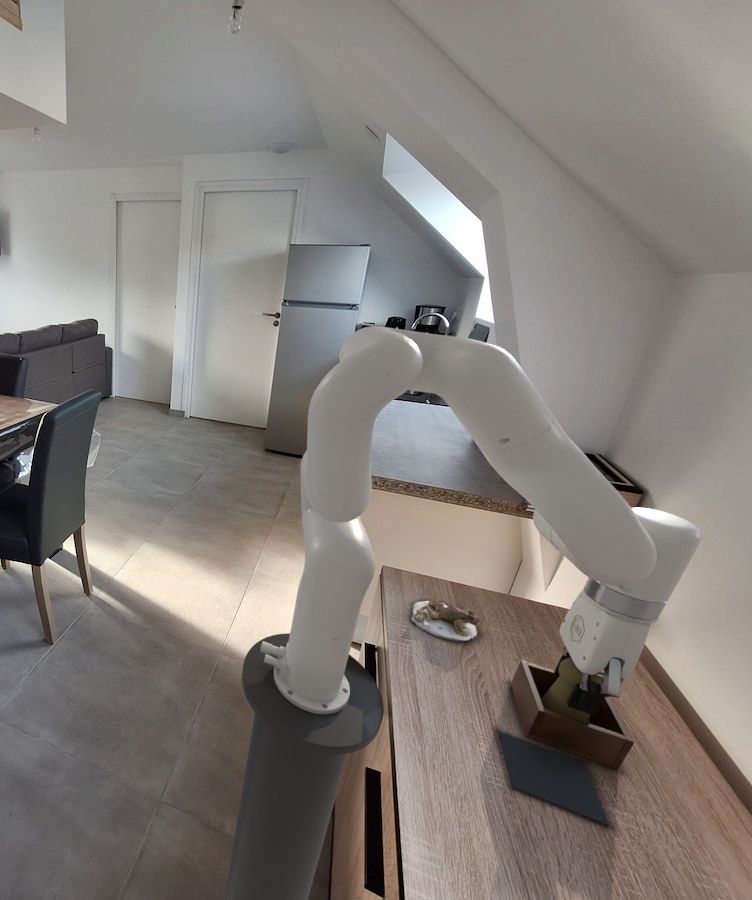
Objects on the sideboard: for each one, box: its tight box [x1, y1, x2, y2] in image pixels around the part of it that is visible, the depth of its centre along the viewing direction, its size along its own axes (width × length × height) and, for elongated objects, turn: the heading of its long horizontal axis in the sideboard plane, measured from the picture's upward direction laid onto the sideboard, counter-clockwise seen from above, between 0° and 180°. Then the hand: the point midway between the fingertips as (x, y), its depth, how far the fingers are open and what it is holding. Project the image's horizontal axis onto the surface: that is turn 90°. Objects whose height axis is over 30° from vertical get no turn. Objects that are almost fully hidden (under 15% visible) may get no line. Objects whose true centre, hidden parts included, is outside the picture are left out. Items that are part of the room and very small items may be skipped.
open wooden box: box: [510, 659, 635, 770], centre depth 69 cm, size 11×11×6 cm
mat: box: [498, 731, 610, 827], centre depth 63 cm, size 10×9×1 cm
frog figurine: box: [410, 597, 481, 642], centre depth 91 cm, size 12×12×4 cm
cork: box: [541, 658, 603, 723], centre depth 68 cm, size 6×6×11 cm
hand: (573, 692), depth 68 cm, fingers closed on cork, 5 cm apart
